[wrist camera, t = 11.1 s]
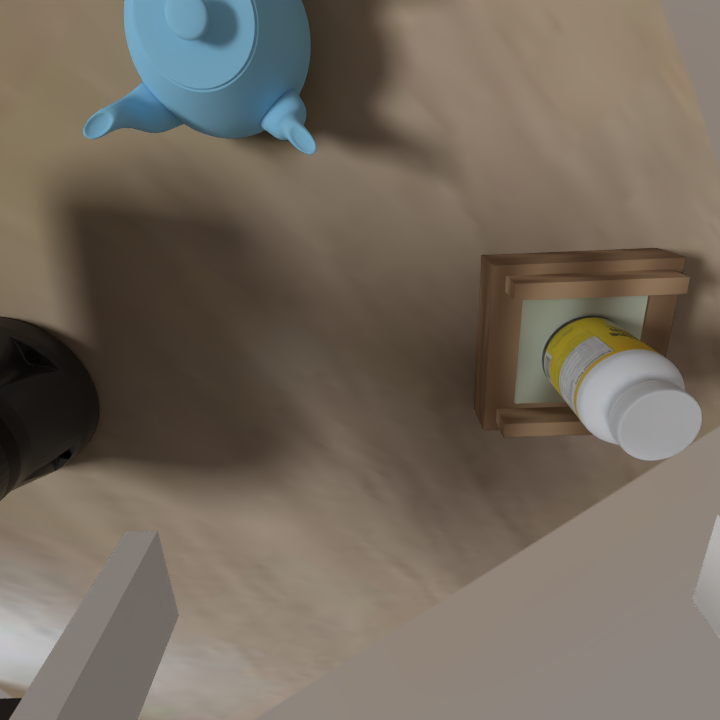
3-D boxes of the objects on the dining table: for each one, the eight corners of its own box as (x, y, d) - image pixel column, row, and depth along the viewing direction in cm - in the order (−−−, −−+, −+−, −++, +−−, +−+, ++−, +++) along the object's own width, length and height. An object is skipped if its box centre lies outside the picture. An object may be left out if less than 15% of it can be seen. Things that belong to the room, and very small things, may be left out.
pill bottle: (632, 366, 39) (732, 447, 29) (555, 401, 41) (622, 491, 30) (606, 296, 37) (704, 355, 26) (525, 335, 38) (587, 406, 28)
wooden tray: (473, 407, 46) (490, 446, 40) (481, 255, 40) (501, 273, 34) (628, 402, 45) (668, 440, 39) (656, 247, 40) (707, 264, 34)
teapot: (133, -72, 33) (39, -163, 23) (335, -58, 33) (322, -142, 23) (152, 143, 37) (81, 139, 28) (328, 154, 38) (314, 155, 28)
